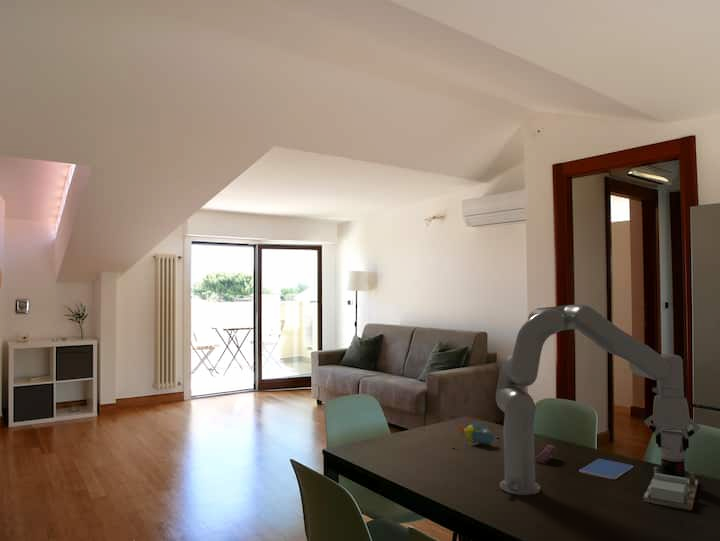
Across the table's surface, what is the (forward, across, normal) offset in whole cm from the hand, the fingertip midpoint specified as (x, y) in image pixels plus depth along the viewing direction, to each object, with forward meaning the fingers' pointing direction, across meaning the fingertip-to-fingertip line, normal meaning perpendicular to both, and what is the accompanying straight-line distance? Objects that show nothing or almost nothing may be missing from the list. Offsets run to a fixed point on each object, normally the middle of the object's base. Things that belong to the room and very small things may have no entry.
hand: (672, 447), depth 176 cm
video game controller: (+13, -42, +5) cm, 44 cm away
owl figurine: (+13, -73, +13) cm, 75 cm away
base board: (+12, 0, -6) cm, 14 cm away
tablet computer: (+13, -21, +6) cm, 26 cm away
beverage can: (+10, 0, 0) cm, 10 cm away
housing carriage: (+11, 0, -14) cm, 18 cm away
